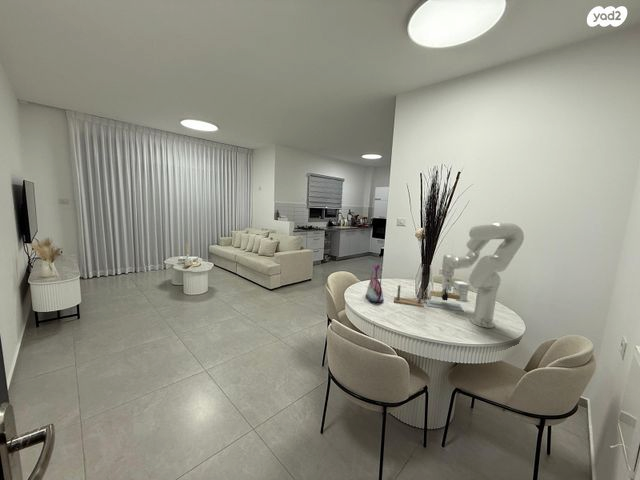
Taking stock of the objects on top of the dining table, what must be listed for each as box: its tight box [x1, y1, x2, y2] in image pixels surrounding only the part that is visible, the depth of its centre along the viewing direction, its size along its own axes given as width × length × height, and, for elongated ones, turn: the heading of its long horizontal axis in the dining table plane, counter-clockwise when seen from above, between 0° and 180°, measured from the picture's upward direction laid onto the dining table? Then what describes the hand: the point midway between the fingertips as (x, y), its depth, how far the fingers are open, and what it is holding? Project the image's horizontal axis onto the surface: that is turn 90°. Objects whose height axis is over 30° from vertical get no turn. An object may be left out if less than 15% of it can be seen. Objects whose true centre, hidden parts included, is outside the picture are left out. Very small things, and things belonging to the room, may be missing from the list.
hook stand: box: [393, 284, 425, 308], centre depth 185 cm, size 10×19×10 cm, turn 73°
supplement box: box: [452, 280, 470, 302], centre depth 195 cm, size 7×7×13 cm
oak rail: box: [429, 289, 460, 301], centre depth 181 cm, size 3×18×3 cm, turn 73°
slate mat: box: [425, 299, 465, 312], centre depth 182 cm, size 12×22×1 cm, turn 73°
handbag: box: [365, 264, 385, 303], centre depth 187 cm, size 21×10×25 cm, turn 7°
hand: (444, 298), depth 182 cm, fingers closed on oak rail, 3 cm apart
